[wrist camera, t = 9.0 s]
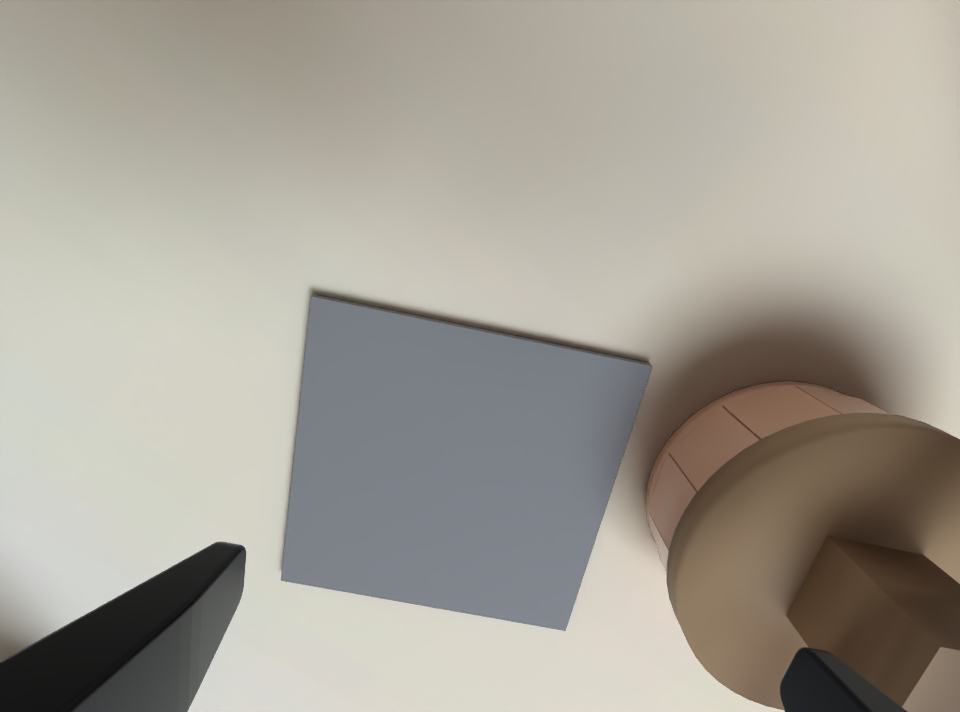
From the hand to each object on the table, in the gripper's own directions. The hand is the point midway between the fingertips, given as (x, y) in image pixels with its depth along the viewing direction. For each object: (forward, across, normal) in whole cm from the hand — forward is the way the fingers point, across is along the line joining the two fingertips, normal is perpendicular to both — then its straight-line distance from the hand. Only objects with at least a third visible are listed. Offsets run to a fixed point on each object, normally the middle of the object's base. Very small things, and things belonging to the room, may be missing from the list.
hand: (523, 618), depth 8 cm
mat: (+12, +1, +5) cm, 13 cm away
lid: (+8, -12, +3) cm, 15 cm away
